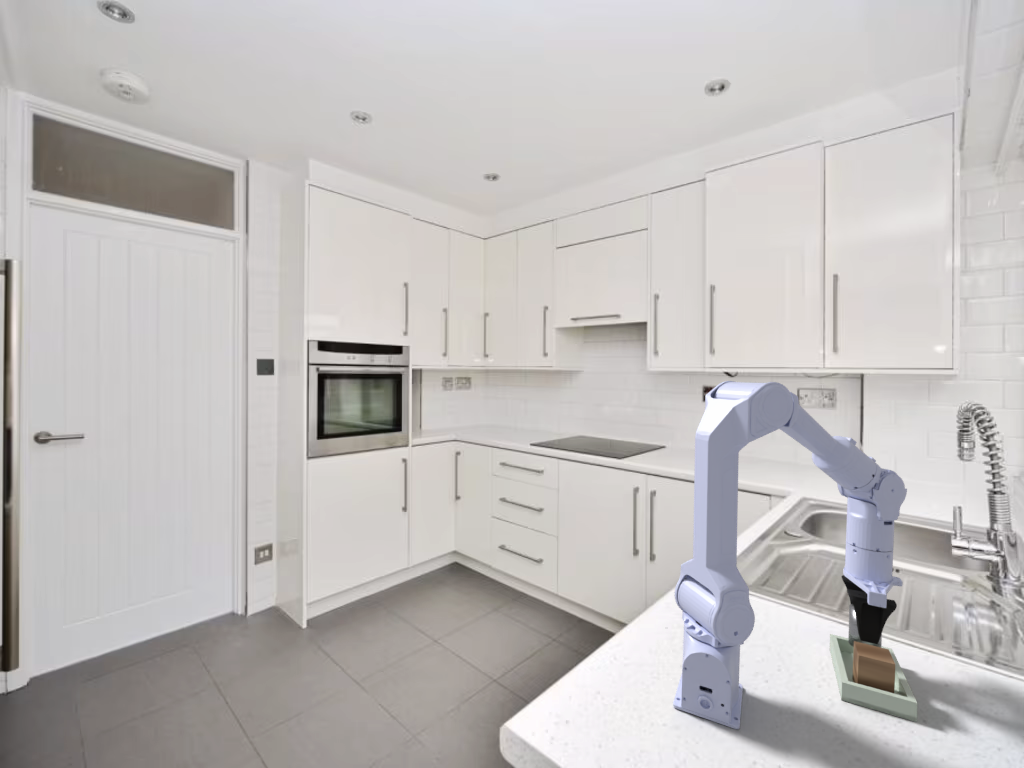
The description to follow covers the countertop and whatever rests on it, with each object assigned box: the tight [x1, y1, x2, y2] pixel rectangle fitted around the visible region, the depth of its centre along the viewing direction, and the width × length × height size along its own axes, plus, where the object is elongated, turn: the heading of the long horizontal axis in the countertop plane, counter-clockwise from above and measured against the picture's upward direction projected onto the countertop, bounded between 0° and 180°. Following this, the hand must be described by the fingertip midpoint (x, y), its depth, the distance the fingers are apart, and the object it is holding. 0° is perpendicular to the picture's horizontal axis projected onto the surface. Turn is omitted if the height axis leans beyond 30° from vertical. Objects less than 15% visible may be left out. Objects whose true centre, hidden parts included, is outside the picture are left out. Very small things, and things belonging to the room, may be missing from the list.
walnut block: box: [853, 641, 895, 693], centre depth 65 cm, size 4×4×6 cm
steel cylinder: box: [847, 603, 883, 647], centre depth 71 cm, size 4×4×6 cm
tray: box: [829, 633, 918, 723], centre depth 68 cm, size 14×8×2 cm, turn 151°
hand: (865, 634), depth 71 cm, fingers closed on steel cylinder, 4 cm apart
